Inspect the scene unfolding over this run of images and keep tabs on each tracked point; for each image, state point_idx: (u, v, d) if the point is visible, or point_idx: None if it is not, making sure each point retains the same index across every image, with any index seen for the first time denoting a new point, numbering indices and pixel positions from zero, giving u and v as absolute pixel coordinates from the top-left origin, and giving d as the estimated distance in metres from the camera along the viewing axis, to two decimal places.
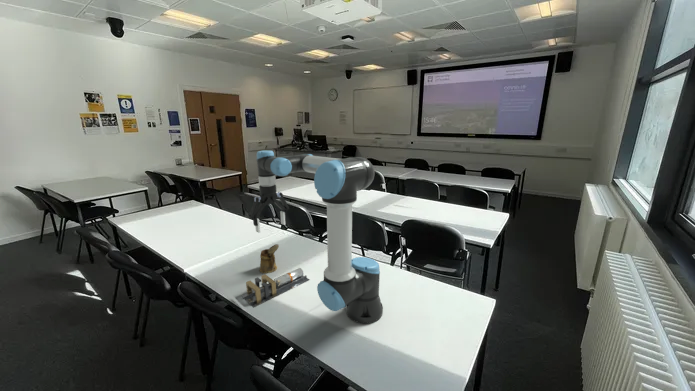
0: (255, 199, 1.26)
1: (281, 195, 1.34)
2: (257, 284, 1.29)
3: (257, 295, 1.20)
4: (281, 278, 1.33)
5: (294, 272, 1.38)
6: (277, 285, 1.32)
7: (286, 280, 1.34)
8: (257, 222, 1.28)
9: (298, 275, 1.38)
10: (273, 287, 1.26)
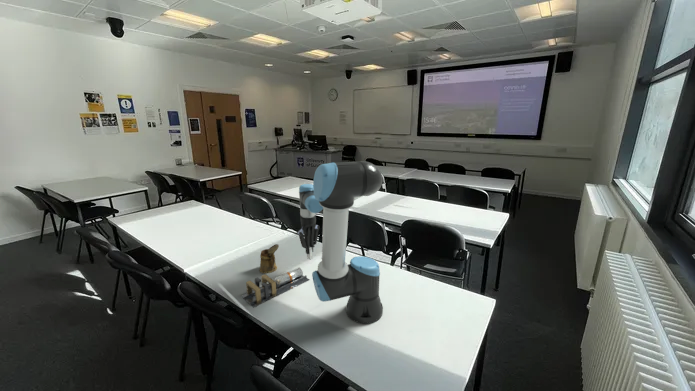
0: (299, 234, 1.36)
1: (318, 228, 1.43)
2: (257, 284, 1.29)
3: (257, 295, 1.20)
4: (280, 277, 1.33)
5: (293, 271, 1.38)
6: (277, 284, 1.32)
7: (286, 279, 1.34)
8: (309, 251, 1.42)
9: (297, 274, 1.39)
10: (273, 287, 1.26)
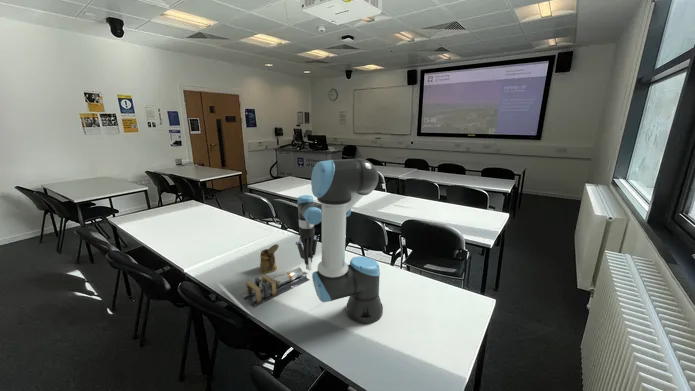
0: (297, 245, 1.37)
1: (317, 239, 1.44)
2: (257, 284, 1.29)
3: (257, 295, 1.20)
4: (280, 277, 1.33)
5: (293, 271, 1.38)
6: (277, 284, 1.32)
7: (286, 279, 1.34)
8: (308, 261, 1.43)
9: (297, 274, 1.39)
10: (273, 287, 1.26)
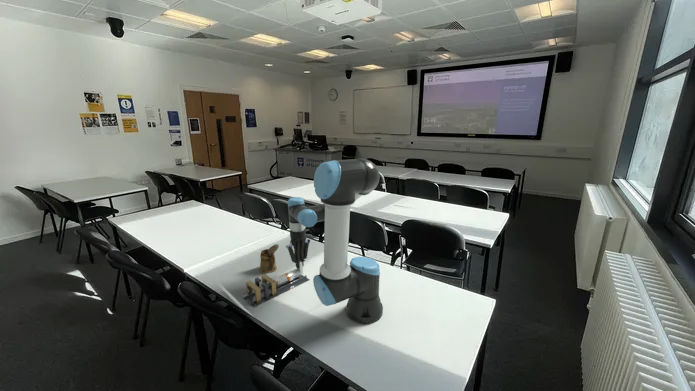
0: (288, 248, 1.33)
1: (308, 242, 1.40)
2: (257, 284, 1.29)
3: (257, 295, 1.20)
4: (278, 278, 1.32)
5: (291, 272, 1.38)
6: None
7: (284, 280, 1.33)
8: (299, 265, 1.39)
9: (295, 274, 1.38)
10: (273, 287, 1.26)
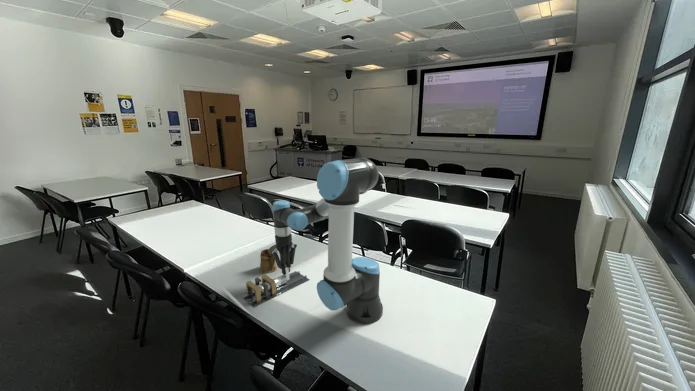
0: (273, 254, 1.28)
1: (295, 247, 1.35)
2: (257, 284, 1.29)
3: (257, 295, 1.20)
4: None
5: (276, 278, 1.32)
6: None
7: (268, 287, 1.28)
8: (285, 271, 1.34)
9: (281, 281, 1.32)
10: (273, 287, 1.26)
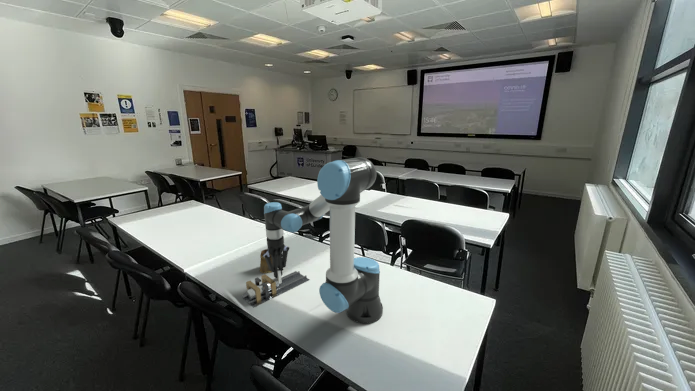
0: (265, 257, 1.25)
1: (287, 249, 1.32)
2: (257, 284, 1.29)
3: (257, 295, 1.20)
4: None
5: None
6: (250, 297, 1.23)
7: None
8: (277, 274, 1.31)
9: None
10: (273, 287, 1.26)
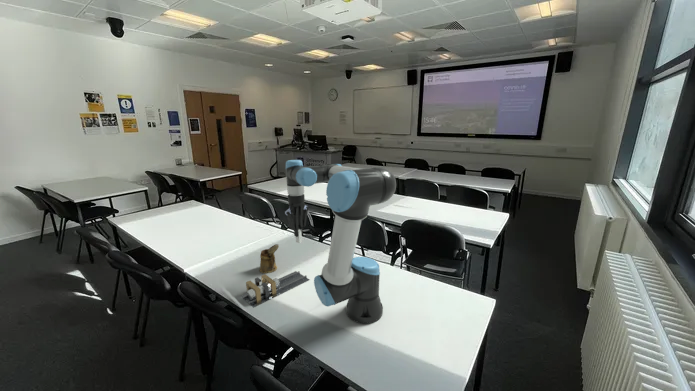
0: (286, 214, 1.26)
1: (307, 208, 1.33)
2: (257, 284, 1.29)
3: (257, 295, 1.20)
4: None
5: (269, 283, 1.29)
6: (250, 297, 1.23)
7: None
8: (298, 233, 1.32)
9: None
10: (273, 287, 1.26)
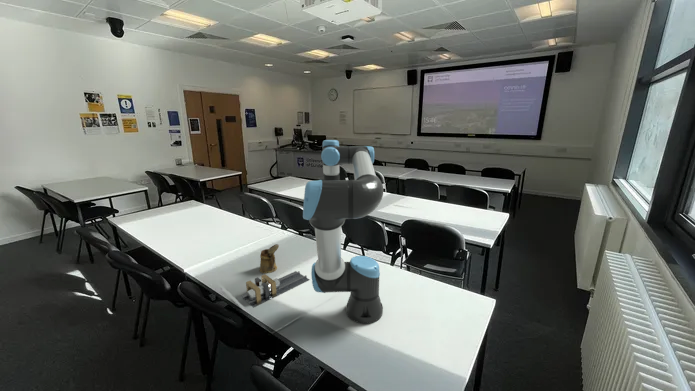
0: None
1: None
2: (257, 284, 1.29)
3: (257, 295, 1.20)
4: None
5: None
6: (250, 298, 1.23)
7: (261, 293, 1.24)
8: None
9: None
10: (273, 287, 1.26)
